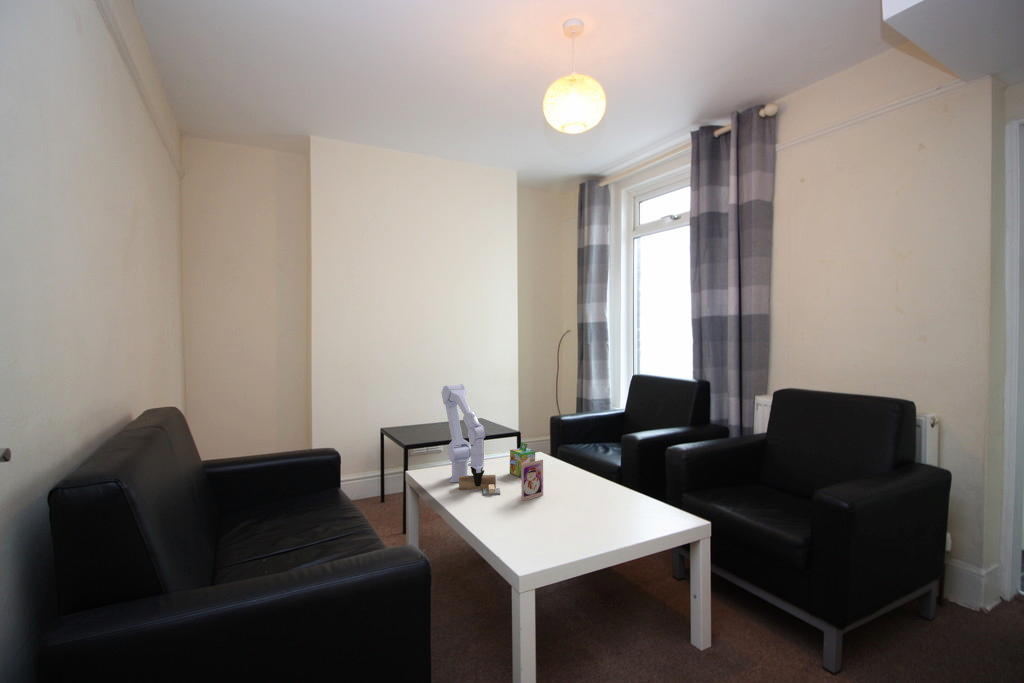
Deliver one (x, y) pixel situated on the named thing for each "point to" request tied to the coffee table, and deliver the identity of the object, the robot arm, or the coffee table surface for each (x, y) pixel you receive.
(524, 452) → the chalk box
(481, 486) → the batten
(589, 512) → the coffee table surface
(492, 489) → the fulcrum
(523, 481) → the greeting card
